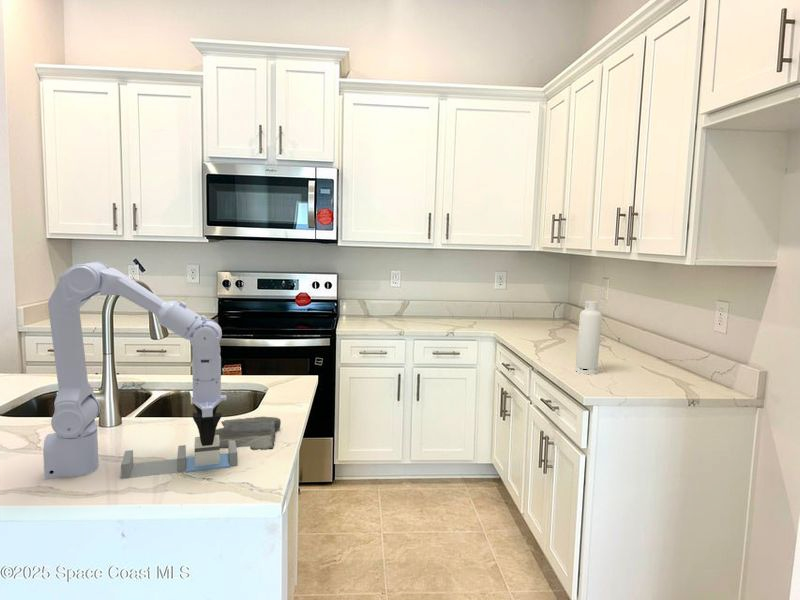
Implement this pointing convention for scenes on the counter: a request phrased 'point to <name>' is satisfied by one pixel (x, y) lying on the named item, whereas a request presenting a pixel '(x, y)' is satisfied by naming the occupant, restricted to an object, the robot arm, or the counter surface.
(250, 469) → the counter surface
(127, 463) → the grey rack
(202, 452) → the block
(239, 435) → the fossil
